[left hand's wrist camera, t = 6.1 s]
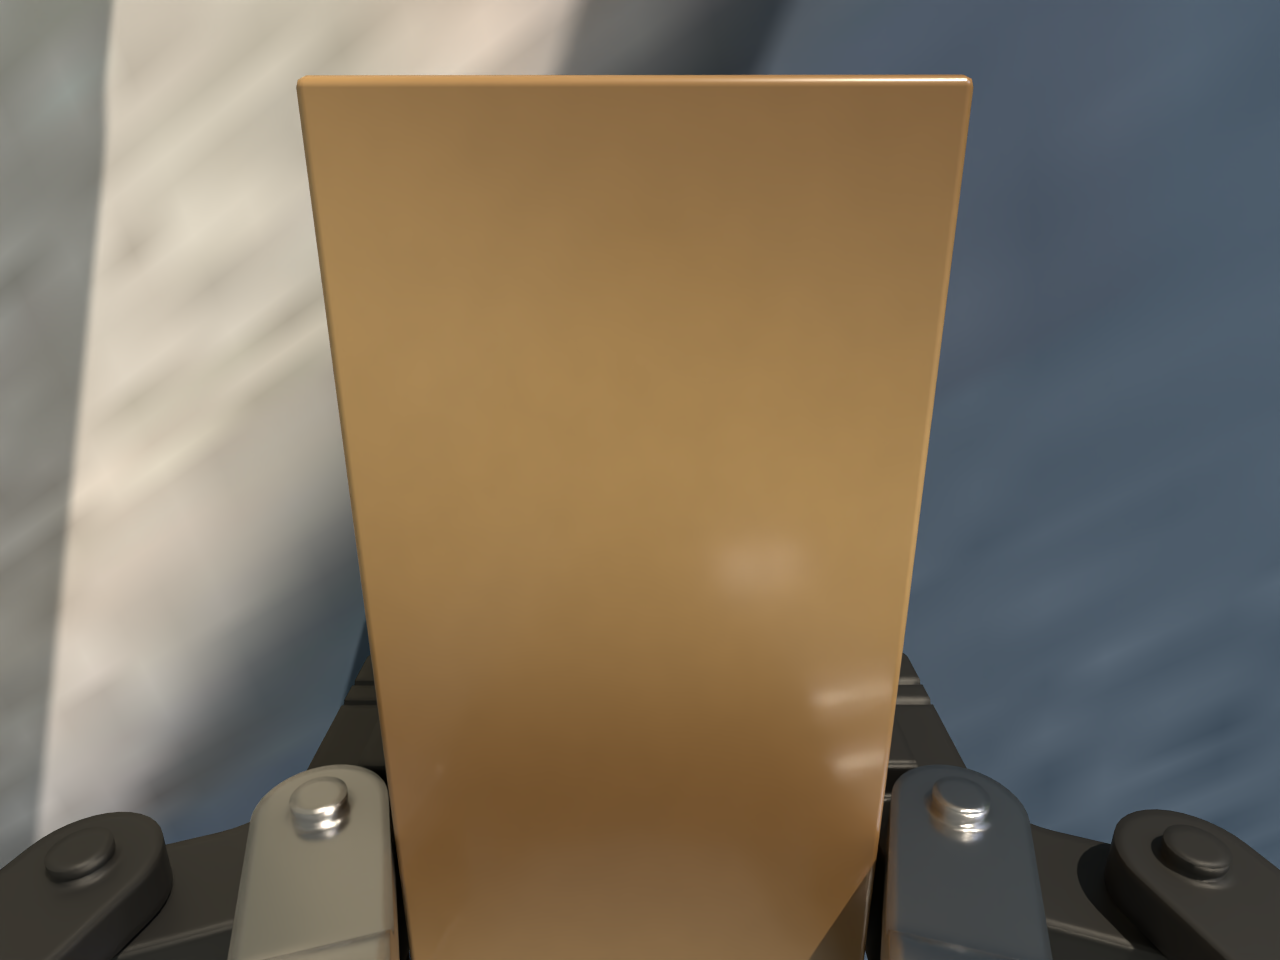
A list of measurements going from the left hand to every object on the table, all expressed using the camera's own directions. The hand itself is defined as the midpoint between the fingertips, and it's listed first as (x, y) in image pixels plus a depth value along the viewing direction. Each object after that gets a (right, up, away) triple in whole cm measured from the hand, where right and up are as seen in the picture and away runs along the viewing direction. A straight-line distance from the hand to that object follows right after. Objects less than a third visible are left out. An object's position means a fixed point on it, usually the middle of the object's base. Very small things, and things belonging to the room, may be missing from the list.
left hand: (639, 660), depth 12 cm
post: (0, -31, +16) cm, 35 cm away
